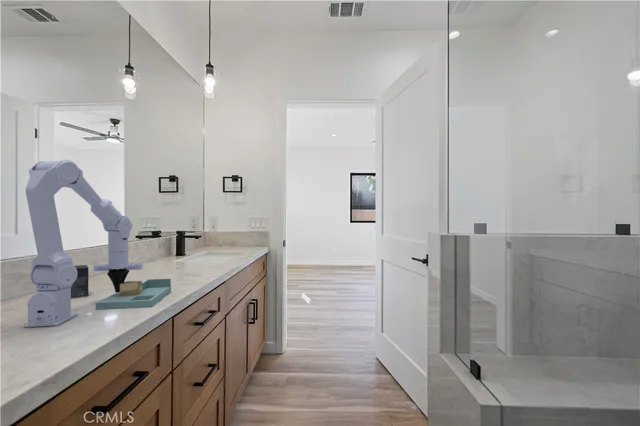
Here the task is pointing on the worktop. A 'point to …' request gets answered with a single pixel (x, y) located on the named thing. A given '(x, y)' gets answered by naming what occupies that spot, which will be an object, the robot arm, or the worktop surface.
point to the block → (130, 288)
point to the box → (80, 282)
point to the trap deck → (138, 296)
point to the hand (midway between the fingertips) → (118, 291)
